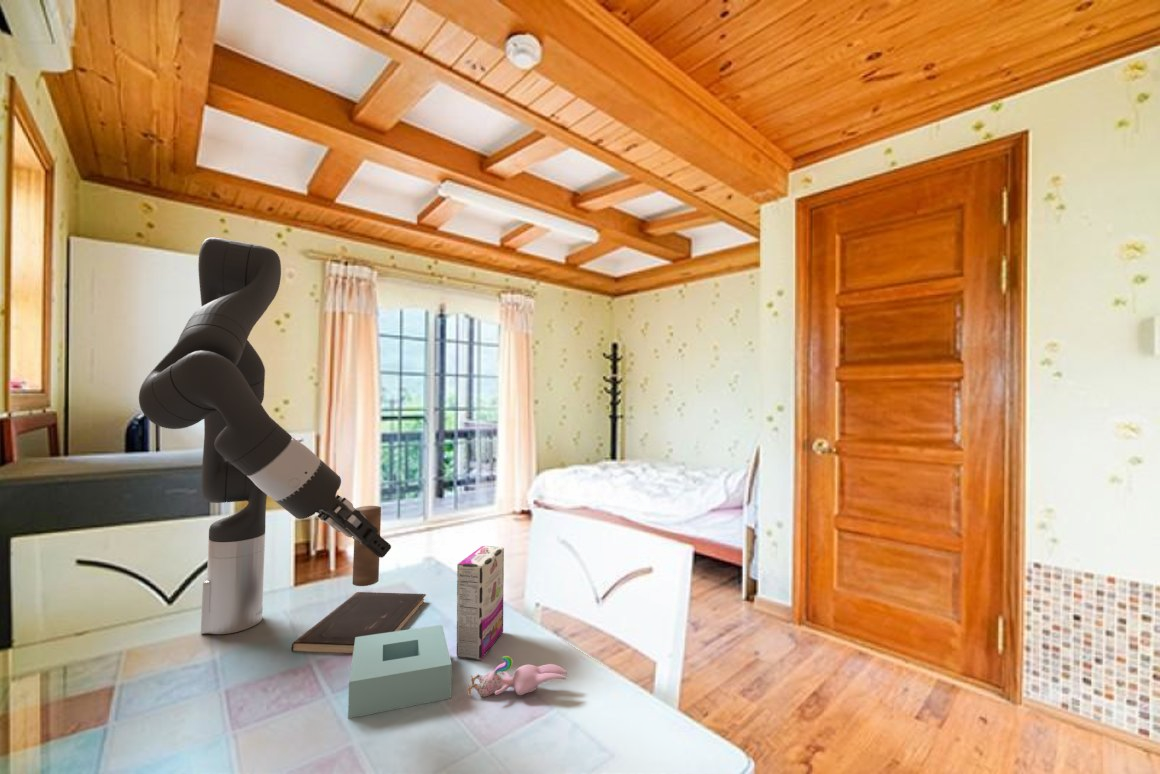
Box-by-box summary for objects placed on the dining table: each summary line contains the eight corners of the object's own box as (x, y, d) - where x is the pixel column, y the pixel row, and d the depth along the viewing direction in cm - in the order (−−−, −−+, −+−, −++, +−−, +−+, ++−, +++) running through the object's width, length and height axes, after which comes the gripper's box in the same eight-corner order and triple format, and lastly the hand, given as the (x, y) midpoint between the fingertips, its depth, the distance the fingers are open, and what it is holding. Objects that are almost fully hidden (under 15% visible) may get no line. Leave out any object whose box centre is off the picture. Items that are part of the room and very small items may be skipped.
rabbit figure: (467, 713, 72) (567, 698, 72) (461, 673, 73) (561, 657, 73) (476, 689, 79) (568, 675, 79) (470, 651, 79) (563, 637, 79)
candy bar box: (479, 629, 96) (481, 544, 97) (503, 632, 95) (505, 546, 96) (453, 658, 85) (456, 562, 86) (480, 661, 84) (483, 565, 85)
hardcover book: (425, 604, 109) (425, 593, 109) (380, 657, 86) (380, 644, 86) (354, 602, 110) (354, 591, 110) (290, 654, 87) (291, 641, 87)
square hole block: (347, 718, 69) (349, 681, 69) (354, 667, 82) (355, 637, 82) (450, 698, 74) (451, 664, 74) (441, 653, 87) (442, 624, 87)
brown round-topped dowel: (351, 587, 72) (354, 511, 72) (353, 578, 75) (356, 506, 75) (378, 584, 73) (380, 510, 73) (379, 576, 76) (381, 505, 77)
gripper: (334, 461, 64) (419, 538, 73) (301, 452, 74) (378, 520, 83) (287, 508, 60) (382, 583, 69) (259, 491, 70) (344, 558, 79)
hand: (379, 548), depth 76 cm, fingers closed on brown round-topped dowel, 3 cm apart
